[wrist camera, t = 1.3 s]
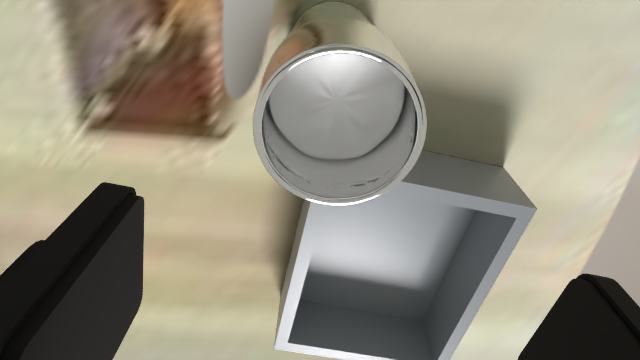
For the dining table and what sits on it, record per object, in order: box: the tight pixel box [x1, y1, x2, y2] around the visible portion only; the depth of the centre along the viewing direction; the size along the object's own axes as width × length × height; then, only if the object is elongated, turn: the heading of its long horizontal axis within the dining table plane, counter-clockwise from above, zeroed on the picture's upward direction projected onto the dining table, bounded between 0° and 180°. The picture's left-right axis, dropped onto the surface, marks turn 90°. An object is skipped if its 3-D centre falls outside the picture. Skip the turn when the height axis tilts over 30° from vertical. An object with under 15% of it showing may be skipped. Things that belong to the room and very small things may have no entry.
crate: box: [274, 150, 537, 360], centre depth 34 cm, size 18×15×6 cm
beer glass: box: [253, 2, 427, 206], centre depth 22 cm, size 7×7×15 cm
